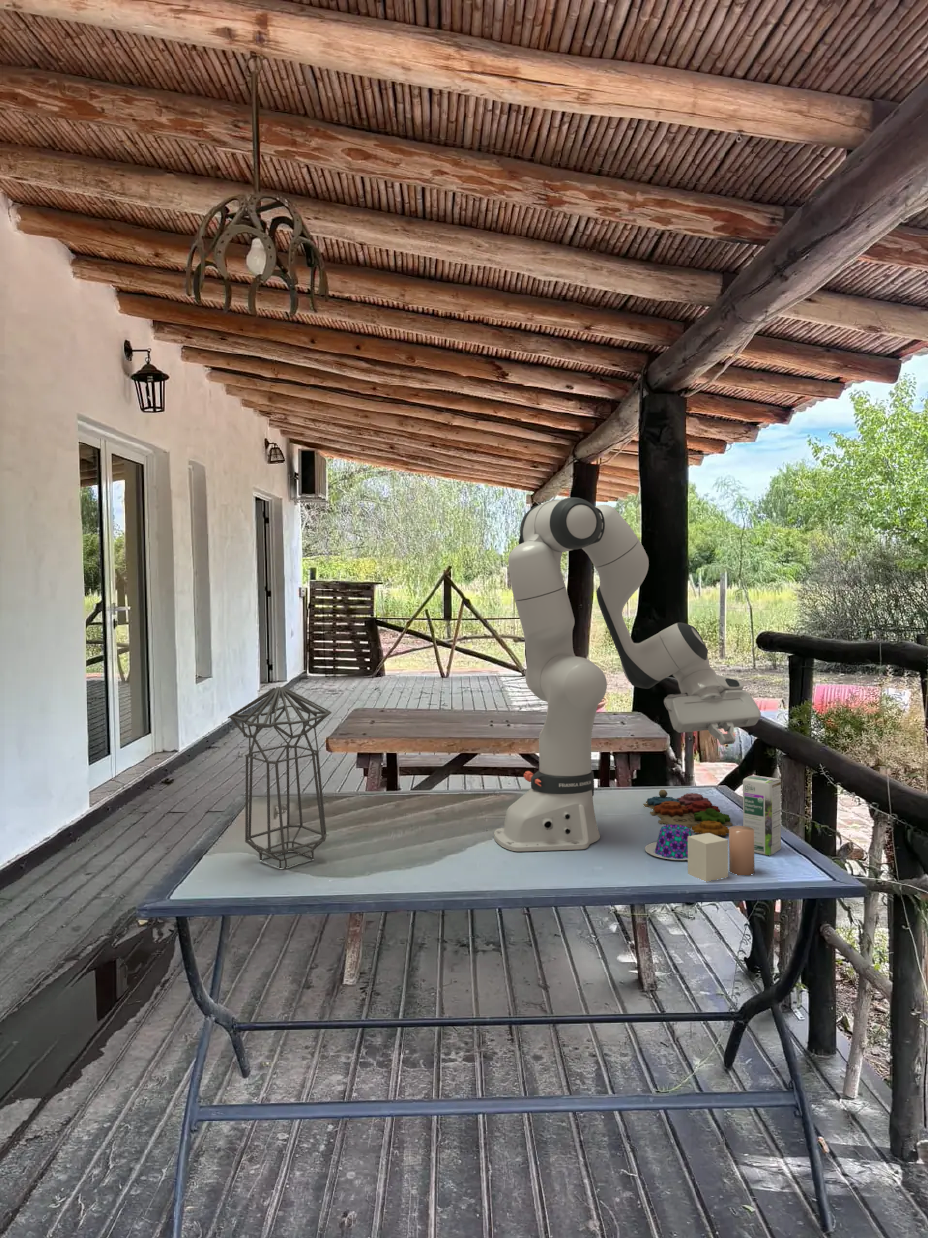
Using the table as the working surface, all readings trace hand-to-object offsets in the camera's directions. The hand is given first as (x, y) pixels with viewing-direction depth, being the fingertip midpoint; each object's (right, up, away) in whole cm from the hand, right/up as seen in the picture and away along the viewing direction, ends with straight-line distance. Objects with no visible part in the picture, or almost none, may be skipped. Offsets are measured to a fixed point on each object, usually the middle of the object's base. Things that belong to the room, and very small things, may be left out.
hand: (728, 742), depth 177 cm
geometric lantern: (-92, -22, -14) cm, 96 cm away
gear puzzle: (-5, -20, +12) cm, 24 cm away
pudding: (-14, -21, -12) cm, 28 cm away
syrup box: (+3, -20, -12) cm, 23 cm away
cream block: (-12, -21, -26) cm, 35 cm away
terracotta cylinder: (-5, -20, -24) cm, 32 cm away
